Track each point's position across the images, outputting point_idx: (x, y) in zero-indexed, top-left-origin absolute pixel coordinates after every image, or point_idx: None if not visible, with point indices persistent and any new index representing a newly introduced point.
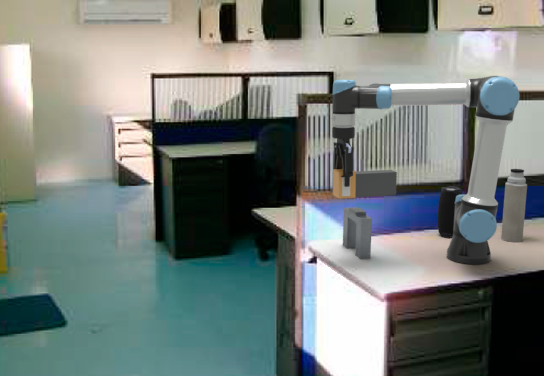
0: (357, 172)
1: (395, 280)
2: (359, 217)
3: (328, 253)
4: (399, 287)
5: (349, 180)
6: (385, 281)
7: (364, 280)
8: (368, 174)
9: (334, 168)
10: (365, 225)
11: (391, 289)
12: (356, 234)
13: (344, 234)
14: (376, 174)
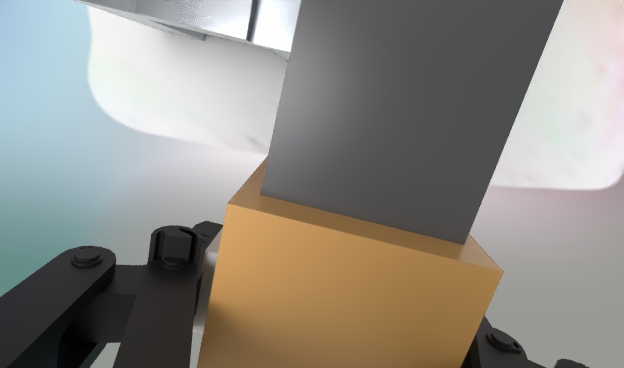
0: (367, 139)
1: (563, 99)
2: None
3: (234, 132)
4: (616, 128)
5: (488, 324)
6: (551, 132)
7: (509, 182)
8: (539, 39)
9: (99, 351)
10: None
11: (613, 159)
12: (282, 55)
13: (155, 26)
14: None
